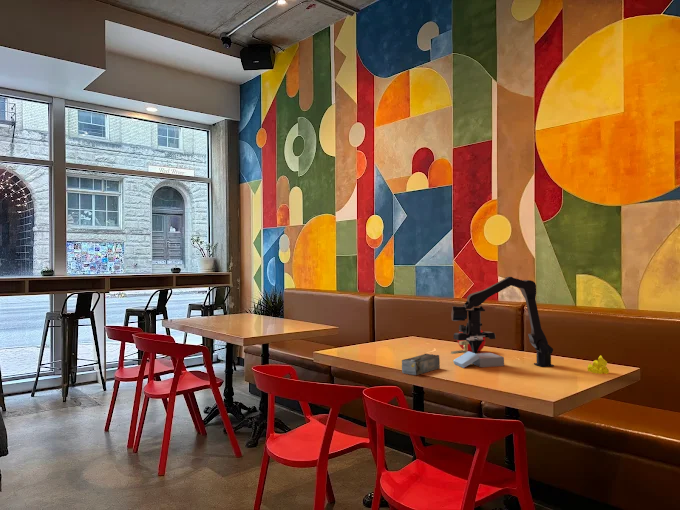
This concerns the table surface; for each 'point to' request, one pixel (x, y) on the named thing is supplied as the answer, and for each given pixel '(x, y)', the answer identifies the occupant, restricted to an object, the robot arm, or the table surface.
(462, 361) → the cover
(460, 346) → the tomato
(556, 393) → the table surface
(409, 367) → the beverage carton
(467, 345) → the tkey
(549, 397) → the table surface
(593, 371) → the yellow crystal cluster
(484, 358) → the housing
